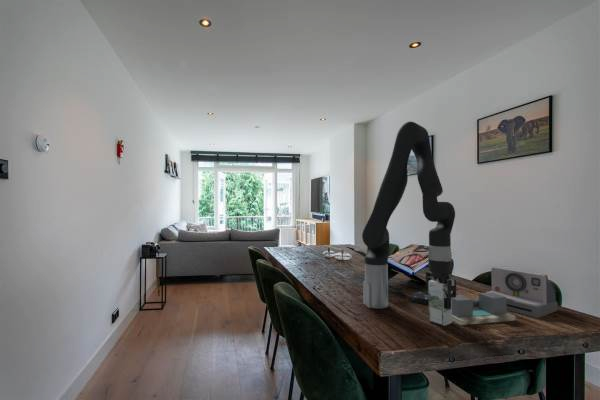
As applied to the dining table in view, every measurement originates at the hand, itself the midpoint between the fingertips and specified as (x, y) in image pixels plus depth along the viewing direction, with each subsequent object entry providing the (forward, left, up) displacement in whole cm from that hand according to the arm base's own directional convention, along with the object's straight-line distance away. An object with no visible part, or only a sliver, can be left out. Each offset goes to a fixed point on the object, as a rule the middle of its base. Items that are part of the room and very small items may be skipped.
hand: (440, 305), depth 112 cm
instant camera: (+42, +8, -6) cm, 43 cm away
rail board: (+16, +2, -6) cm, 17 cm away
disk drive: (+11, +22, -7) cm, 25 cm away
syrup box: (0, 0, -6) cm, 6 cm away
